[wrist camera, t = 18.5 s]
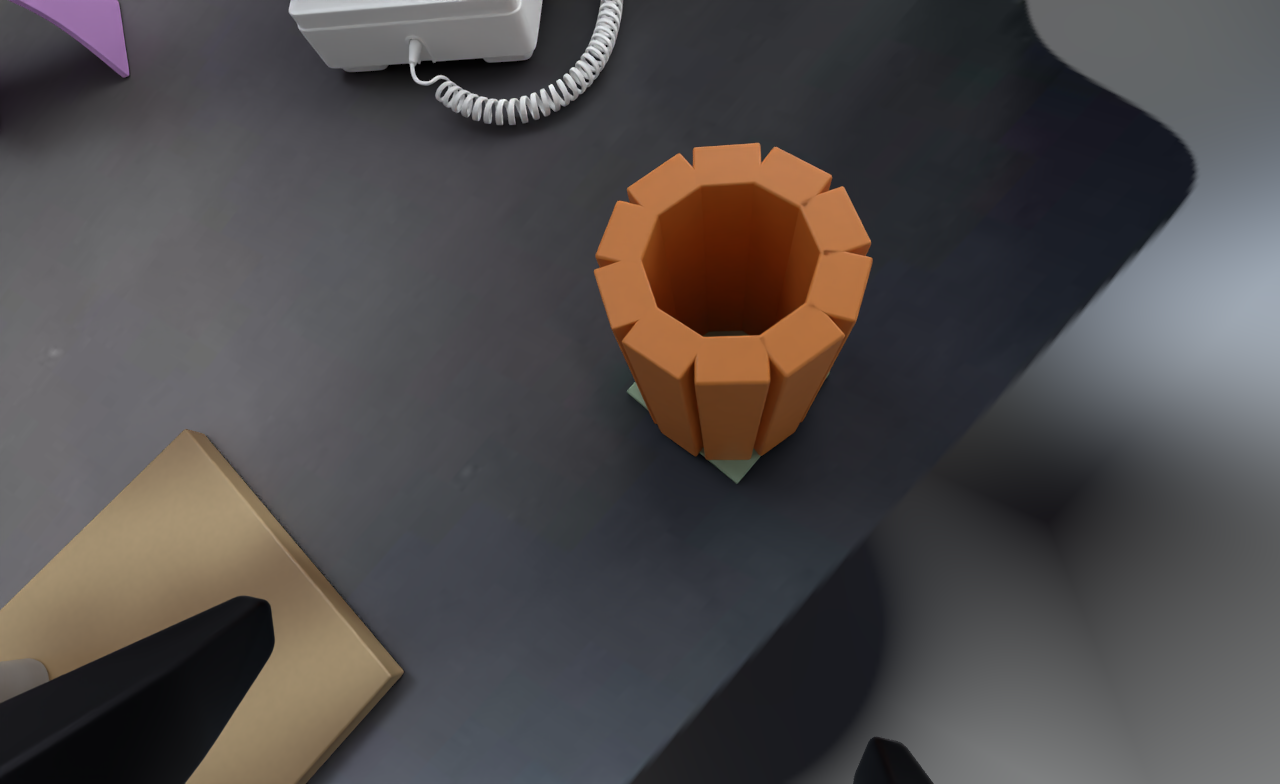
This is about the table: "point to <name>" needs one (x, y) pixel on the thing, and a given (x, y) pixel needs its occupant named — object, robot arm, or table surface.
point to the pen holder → (732, 293)
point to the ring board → (194, 582)
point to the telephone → (448, 42)
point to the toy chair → (88, 26)
